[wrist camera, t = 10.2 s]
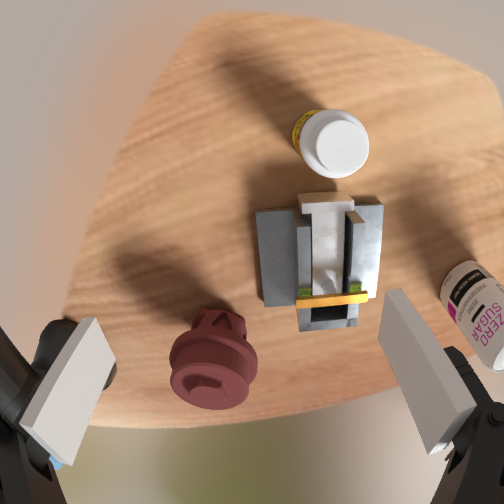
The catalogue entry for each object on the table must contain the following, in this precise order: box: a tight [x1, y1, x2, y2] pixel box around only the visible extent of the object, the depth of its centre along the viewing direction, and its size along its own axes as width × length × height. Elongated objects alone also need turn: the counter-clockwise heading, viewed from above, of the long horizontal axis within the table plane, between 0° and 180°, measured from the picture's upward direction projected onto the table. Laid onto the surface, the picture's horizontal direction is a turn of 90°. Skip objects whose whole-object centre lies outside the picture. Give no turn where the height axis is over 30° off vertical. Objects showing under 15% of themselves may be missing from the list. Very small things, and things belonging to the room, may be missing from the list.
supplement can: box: [440, 260, 504, 373], centre depth 28 cm, size 8×8×15 cm
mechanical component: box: [169, 308, 258, 410], centre depth 33 cm, size 12×10×10 cm
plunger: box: [296, 191, 368, 309], centre depth 29 cm, size 7×11×6 cm, turn 6°
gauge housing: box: [255, 202, 384, 332], centre depth 31 cm, size 14×12×6 cm
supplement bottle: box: [292, 109, 369, 178], centre depth 24 cm, size 6×6×10 cm
